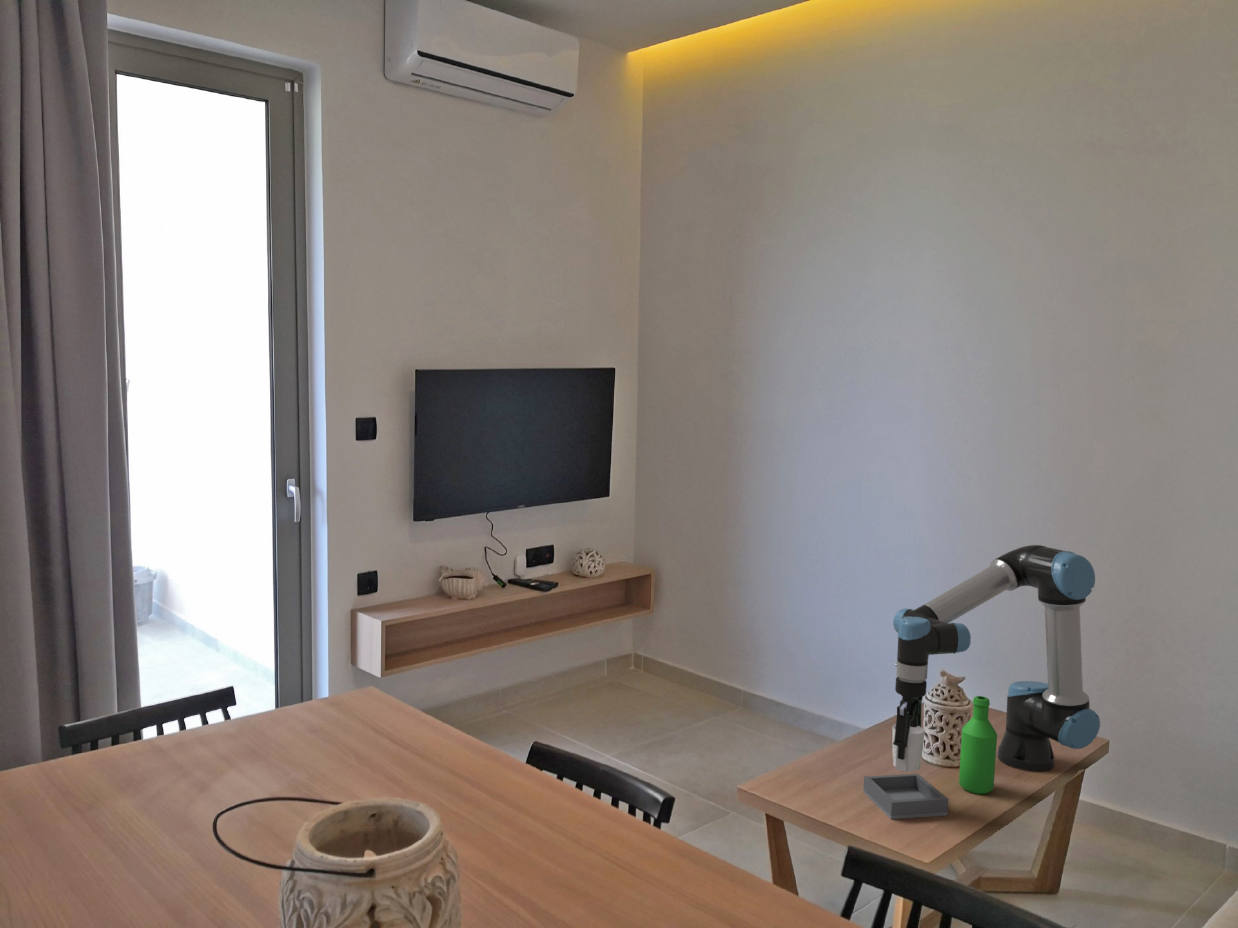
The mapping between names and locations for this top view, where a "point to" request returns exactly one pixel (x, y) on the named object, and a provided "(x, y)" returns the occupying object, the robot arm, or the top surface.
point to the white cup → (911, 747)
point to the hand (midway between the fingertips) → (906, 764)
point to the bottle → (978, 750)
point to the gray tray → (905, 796)
